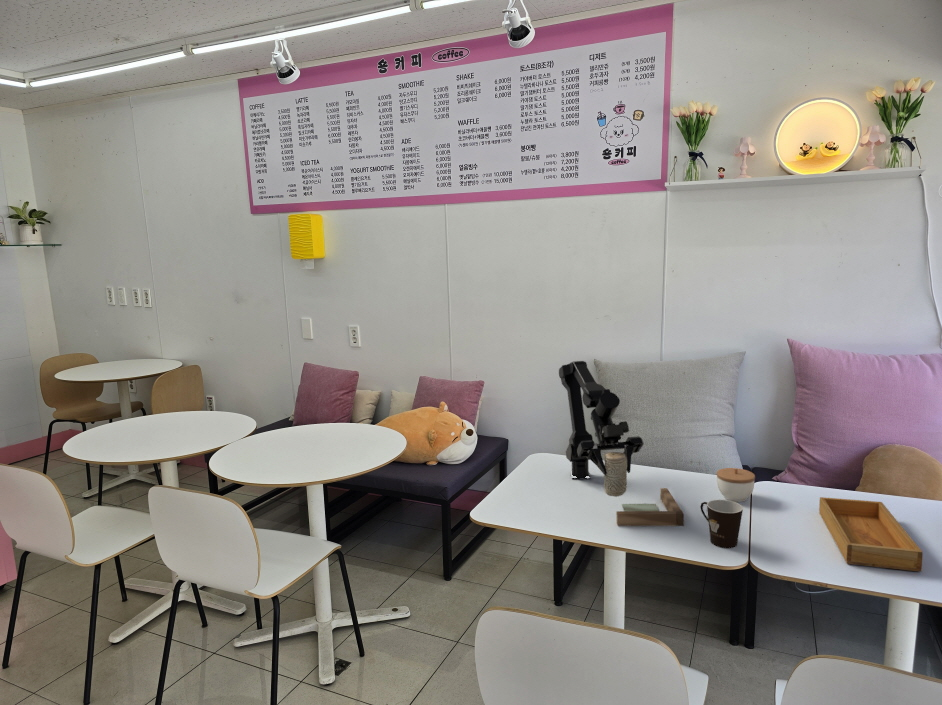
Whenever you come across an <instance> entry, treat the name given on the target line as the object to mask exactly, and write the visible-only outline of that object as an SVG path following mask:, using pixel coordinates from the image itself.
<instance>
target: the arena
mask: <svg viewBox="0 0 942 705" xmlns="http://www.w3.org/2000/svg"><path fill="white" fill-rule="evenodd" d="M659 493H660V500H661V502H662V504H663V506H664V507H665V509H666V510H660V509H659V507H658V506H657V503H621V506H622V509H623V510H619V511H618V510H617V511H616V525H617V527H665V526H666V527H684V525H685V524H684V522H685V520H684V516H685V514H684V511H682V509H681V507H680V506H679V504H678V503H677V501H676V499H675V498H674V496H673V495H672V493H671V491H670V490H669V488H668V487H662V488H661V487H660V492H659Z"/></svg>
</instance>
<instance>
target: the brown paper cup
mask: <svg viewBox="0 0 942 705" xmlns="http://www.w3.org/2000/svg"><path fill="white" fill-rule="evenodd" d="M704 505H706V509H707V510H706V511H707V515H706V513H705V510H704ZM699 507H700V512H701V513H702V515H703V517H704V518H705V520H706V522H708V529H709V537H710V540H709V541H710V544H712V545H713V546H715V547H718V548H721V549H734V548H736V547H737V546H738V542H739V535H740V531H741V530H740V529H741V522H742V516H743V510H744V508H743V505H741V504H740V503H738V502H734V501H730V500H727V499H713V500H708V502H707V501H703V502H701V503H700V506H699Z"/></svg>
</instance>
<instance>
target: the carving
mask: <svg viewBox="0 0 942 705" xmlns="http://www.w3.org/2000/svg"><path fill="white" fill-rule="evenodd" d="M604 465H605V468H606V472H607V474H606V475H604V474H603V475H604V476H603V487H604V488H603V489H604V493H605V494H606V495H607V496H609V497H614V498H615V497H617V498H618V497H621V496H623V495H625V493H626V492H627V489H628V488H627V482H628V480H627V479H628V478H627V477H628V476H627V475H628V474H627V473H628V472H627V458H626V456H625V454H624V453H623V452H621V451H619V452H618V451H617V452H616V451H615V452H614V451H611V452H606V453H605V455H604Z"/></svg>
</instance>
